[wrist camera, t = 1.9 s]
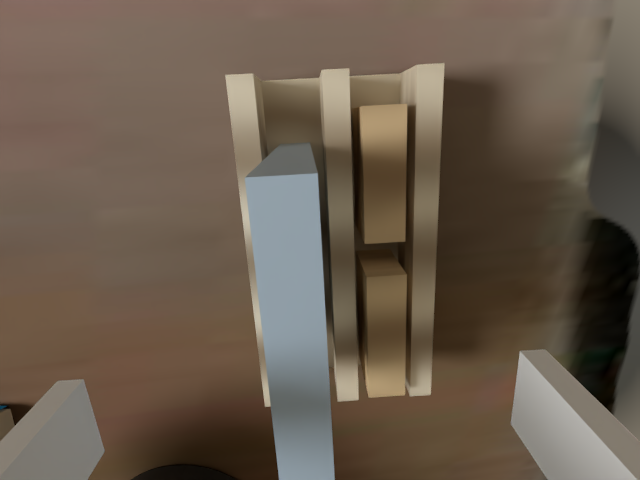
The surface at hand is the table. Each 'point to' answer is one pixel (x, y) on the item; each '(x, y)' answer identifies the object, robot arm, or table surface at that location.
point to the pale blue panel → (293, 308)
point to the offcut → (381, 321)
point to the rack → (350, 196)
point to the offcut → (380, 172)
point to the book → (5, 422)
